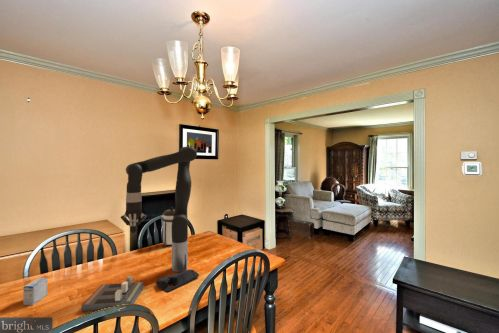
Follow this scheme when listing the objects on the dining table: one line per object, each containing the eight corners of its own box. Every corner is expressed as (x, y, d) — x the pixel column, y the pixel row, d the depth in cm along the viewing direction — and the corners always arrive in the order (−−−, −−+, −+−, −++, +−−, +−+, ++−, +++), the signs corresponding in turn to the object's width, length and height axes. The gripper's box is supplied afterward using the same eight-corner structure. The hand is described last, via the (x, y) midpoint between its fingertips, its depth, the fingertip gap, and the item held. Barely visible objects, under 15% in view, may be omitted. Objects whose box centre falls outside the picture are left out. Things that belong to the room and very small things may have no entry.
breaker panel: (143, 287, 117) (143, 274, 117) (131, 308, 101) (131, 292, 101) (101, 290, 114) (101, 276, 114) (81, 312, 98) (81, 295, 98)
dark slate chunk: (202, 279, 127) (202, 271, 127) (164, 294, 112) (164, 285, 112) (189, 270, 138) (189, 262, 138) (152, 282, 123) (152, 274, 123)
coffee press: (170, 249, 171) (170, 209, 170) (157, 244, 179) (157, 207, 179) (188, 242, 185) (188, 206, 185) (175, 239, 194) (175, 204, 193)
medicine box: (37, 295, 109) (37, 277, 109) (47, 295, 110) (47, 277, 110) (22, 305, 102) (23, 286, 102) (33, 305, 102) (33, 286, 102)
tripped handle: (127, 289, 109) (127, 281, 109) (125, 292, 107) (125, 284, 107) (123, 290, 109) (123, 281, 109) (121, 292, 107) (121, 284, 107)
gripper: (148, 199, 127) (148, 230, 127) (123, 199, 125) (123, 231, 125) (144, 201, 119) (144, 234, 119) (117, 202, 117) (117, 235, 117)
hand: (133, 232), depth 122 cm, fingers closed
